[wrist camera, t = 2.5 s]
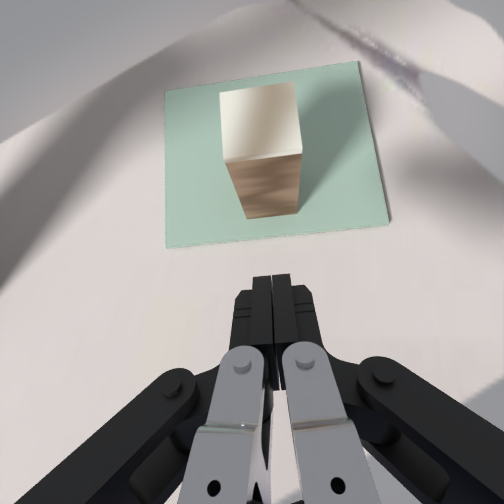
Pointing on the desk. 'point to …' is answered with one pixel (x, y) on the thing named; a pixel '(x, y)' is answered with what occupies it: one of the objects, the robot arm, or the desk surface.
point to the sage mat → (312, 163)
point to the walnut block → (263, 148)
